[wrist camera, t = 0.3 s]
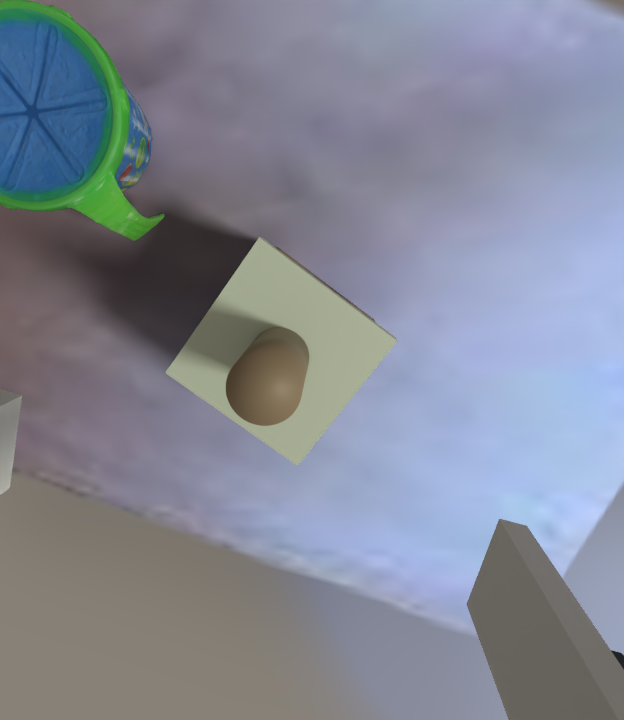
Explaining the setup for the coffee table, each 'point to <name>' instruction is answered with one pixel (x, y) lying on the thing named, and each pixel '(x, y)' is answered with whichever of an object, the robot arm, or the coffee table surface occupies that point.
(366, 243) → the coffee table surface
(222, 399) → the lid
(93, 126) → the snack cup
